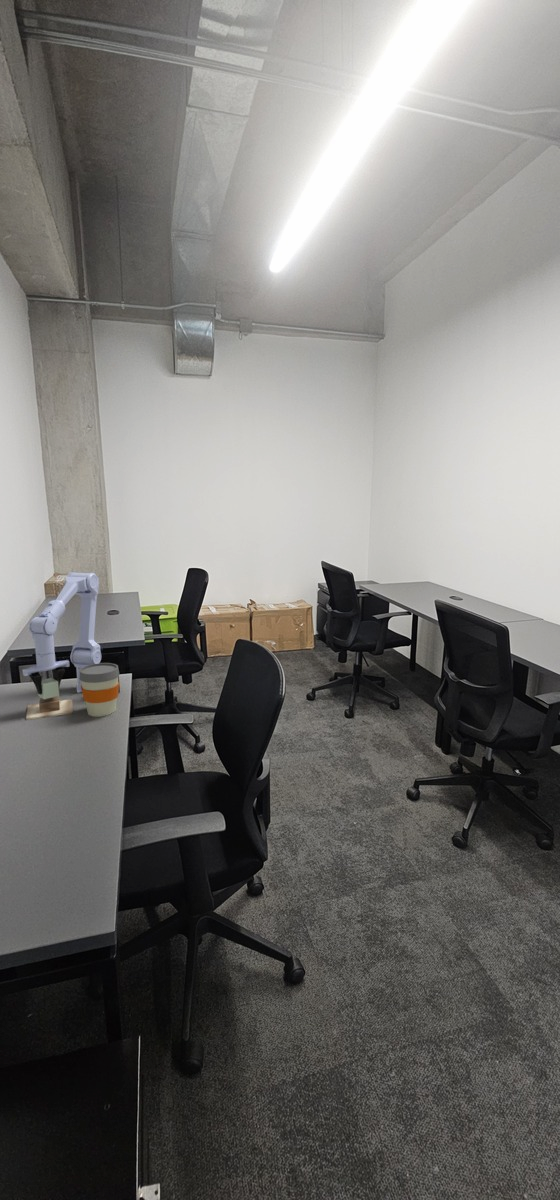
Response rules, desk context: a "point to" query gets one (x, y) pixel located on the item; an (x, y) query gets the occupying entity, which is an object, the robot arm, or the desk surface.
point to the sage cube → (49, 688)
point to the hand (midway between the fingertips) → (48, 691)
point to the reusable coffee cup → (100, 688)
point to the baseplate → (37, 714)
